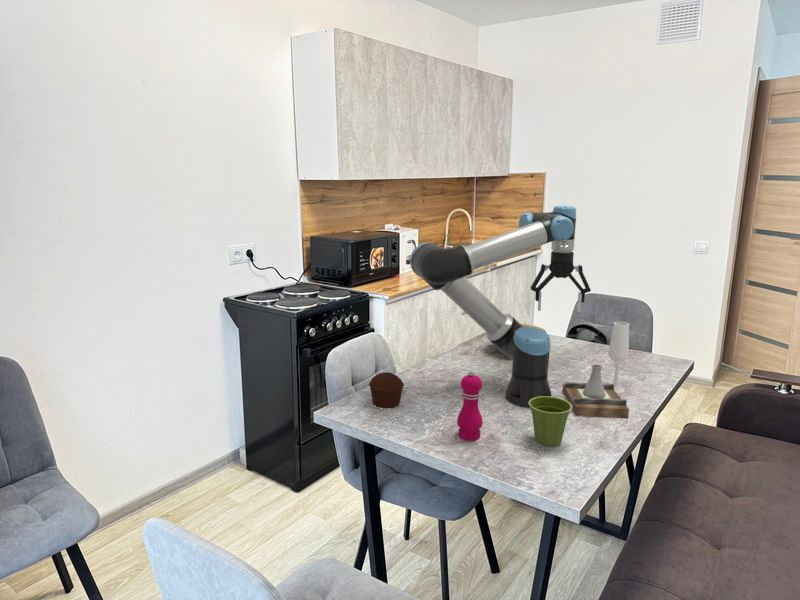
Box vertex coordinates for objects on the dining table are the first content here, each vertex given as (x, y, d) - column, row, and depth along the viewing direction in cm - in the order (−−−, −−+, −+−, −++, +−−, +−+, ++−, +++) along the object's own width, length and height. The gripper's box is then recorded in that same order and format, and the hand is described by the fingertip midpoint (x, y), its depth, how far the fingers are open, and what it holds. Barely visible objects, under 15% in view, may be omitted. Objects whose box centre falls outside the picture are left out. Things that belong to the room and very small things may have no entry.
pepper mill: (451, 435, 161) (453, 369, 156) (467, 428, 166) (469, 364, 161) (471, 444, 156) (474, 376, 151) (486, 436, 161) (490, 370, 156)
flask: (580, 396, 182) (583, 367, 180) (584, 388, 188) (586, 360, 186) (604, 400, 179) (607, 370, 177) (607, 392, 185) (609, 364, 183)
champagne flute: (606, 384, 201) (612, 320, 196) (626, 388, 198) (633, 322, 193) (603, 390, 196) (609, 324, 190) (623, 394, 193) (630, 327, 187)
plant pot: (544, 428, 166) (547, 392, 164) (578, 443, 157) (581, 406, 155) (517, 438, 159) (519, 401, 157) (550, 455, 150) (553, 416, 148)
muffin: (411, 404, 182) (411, 375, 180) (385, 413, 175) (385, 383, 173) (386, 393, 191) (386, 365, 189) (361, 402, 184) (361, 373, 181)
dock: (575, 415, 175) (576, 402, 174) (562, 391, 194) (563, 379, 193) (628, 418, 174) (629, 404, 173) (609, 393, 193) (610, 381, 192)
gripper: (526, 252, 192) (523, 312, 196) (602, 253, 188) (597, 314, 193) (524, 249, 199) (522, 307, 204) (598, 250, 195) (593, 309, 200)
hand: (558, 310), depth 198 cm, fingers open, 13 cm apart
